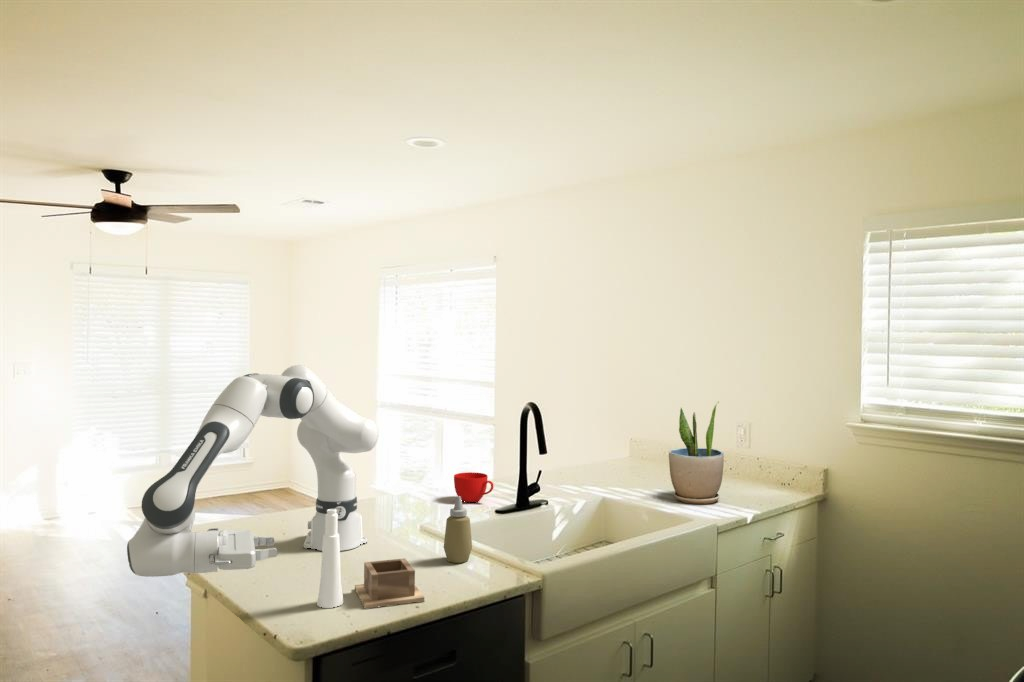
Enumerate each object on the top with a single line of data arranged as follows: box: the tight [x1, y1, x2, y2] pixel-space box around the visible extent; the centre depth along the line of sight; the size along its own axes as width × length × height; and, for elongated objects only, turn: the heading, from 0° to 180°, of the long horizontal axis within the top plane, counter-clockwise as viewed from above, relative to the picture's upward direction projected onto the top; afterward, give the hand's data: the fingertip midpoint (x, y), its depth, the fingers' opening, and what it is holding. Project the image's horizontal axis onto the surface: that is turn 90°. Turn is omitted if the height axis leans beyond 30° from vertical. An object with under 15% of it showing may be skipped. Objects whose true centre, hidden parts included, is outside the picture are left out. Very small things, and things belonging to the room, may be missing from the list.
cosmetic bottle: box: [316, 509, 345, 609], centre depth 168 cm, size 6×6×22 cm
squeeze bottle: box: [443, 495, 473, 564], centre depth 203 cm, size 8×8×18 cm
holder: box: [354, 558, 425, 609], centre depth 174 cm, size 14×14×7 cm
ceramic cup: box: [453, 471, 494, 503], centre depth 276 cm, size 13×17×10 cm
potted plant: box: [668, 401, 725, 505], centre depth 285 cm, size 21×22×40 cm
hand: (275, 546), depth 164 cm, fingers open, 8 cm apart
